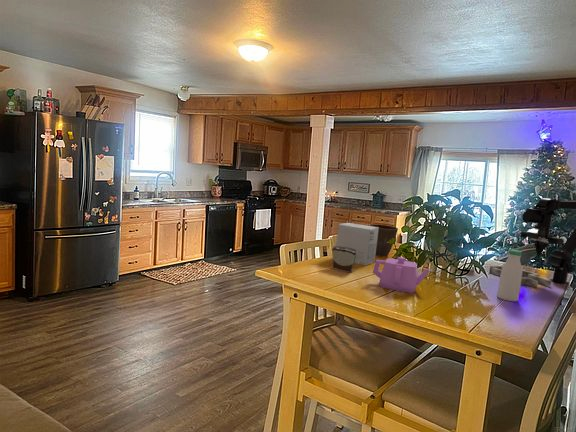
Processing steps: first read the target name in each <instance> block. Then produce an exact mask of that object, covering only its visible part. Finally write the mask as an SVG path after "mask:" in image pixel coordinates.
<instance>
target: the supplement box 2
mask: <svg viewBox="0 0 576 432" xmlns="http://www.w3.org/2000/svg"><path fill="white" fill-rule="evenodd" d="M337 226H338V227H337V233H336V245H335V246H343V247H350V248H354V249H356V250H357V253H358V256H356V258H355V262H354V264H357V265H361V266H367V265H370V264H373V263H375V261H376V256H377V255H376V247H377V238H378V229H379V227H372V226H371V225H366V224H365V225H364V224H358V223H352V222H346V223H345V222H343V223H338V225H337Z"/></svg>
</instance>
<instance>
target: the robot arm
mask: <svg viewBox="0 0 576 432" xmlns="http://www.w3.org/2000/svg"><path fill="white" fill-rule="evenodd" d="M560 209H565V210H566V209H568V210H569V209H571V210H572V209H574V210H576V200H558V199H553V198H547V197H543V198H540V199H539V201H538V202H537V204H536V205H535V206H534V207H533V208H526V211H523V214H522V216H521V217H522V221H523V222H524V223H530V224H535V225H534V227H533V228H531V229H529V230H527V231H522V232H521V233H520V237H521V238H524V239H527V238H529V239H530V241H531V242H532V243H533V244H534V246H535V247H534V248H535V252H536V255H537V256H540V255H541V254H542V253H543V252H544V250H545V249H546V248H547V247H548V246H549V245H551V244H552V245H562V247H561V248H560V249H554V250H553V252H552V253H551V255H550V258H549V261H550V262H549V263H550V267H551V268H552V269H554V271H553V277H552V278H550V279H549V280H551V282H554V283H558V284H561V285H562V284H570V282H569V281H567V280H568V278H569V277H568V276H569V273H573V272H574V270H575V268H574V267H573V265H572V260H573V253H574V251H576V227H575V228H574V229H573V231H572V232H571V234H570V235H569V236H568V239H566V241H564V238H561V237H556V236H552V235H551V234H550V230H552V229H553V228H552V226H551V225H552V220H553V216H555V217H556V216H557V213H556V212H555V211H558V210H560ZM551 236H552V237H551ZM564 242H565V243H564Z"/></svg>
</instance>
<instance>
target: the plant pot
mask: <svg viewBox="0 0 576 432" xmlns="http://www.w3.org/2000/svg"><path fill="white" fill-rule="evenodd" d="M370 226H372V227H379V229H378V238H377V247H376V255H375V256H379V257H389V254H390V252H391V250H392V247H393V246H394V243H393V244H390V243H387V242H388V241H389V240H390V239H392V238H395V239H396V238H397V234H398V230H399V228H398V227H396V226H391V225H385V224H371V225H370Z"/></svg>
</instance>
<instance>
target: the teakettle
mask: <svg viewBox="0 0 576 432" xmlns="http://www.w3.org/2000/svg"><path fill="white" fill-rule="evenodd" d="M380 265H383V267H382V270H380ZM430 272H431V269H429V268H425V269H424V270H423V271H422V272H421V273H419V274H418V265H417V262H414V261H409V260H406V257H402V256H397V258H387V259H386V260H383V259H375V262H374V265H373V270H372V273H373V274H374V275H375V276H377V277H378V278H379V286H380V288H383V289H387V290H392V291H397V292H400V293H401V292H402V293H407V294H408V293H409V294H414V292H416V288H417V286H418V285H419V284H420V283H421V282H422V281H423V280H424V279H425V277H426V276H427V275H428V274H429V273H430Z"/></svg>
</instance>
